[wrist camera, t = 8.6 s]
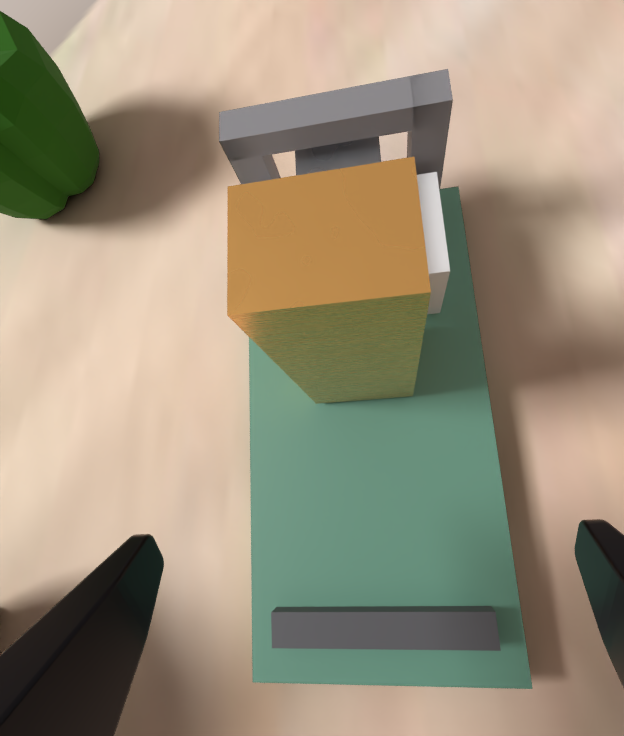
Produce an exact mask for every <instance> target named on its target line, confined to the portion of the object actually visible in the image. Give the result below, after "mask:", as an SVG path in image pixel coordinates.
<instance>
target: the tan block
mask: <svg viewBox="0 0 624 736" xmlns="http://www.w3.org/2000/svg"><path fill="white" fill-rule="evenodd" d="M295 158H296V176H291V177H284V178H278V179H272V180H266V181H259V182H253V183H247V184H241V185H235V186H228V291H227V315H228V316H229V317H230V318H231V319H232V320H233V321H234V322H235V323H236V324H237V325H238V326H239V327H240V328H241V329H242V330H243V331H244V332H245V333H246V334H247V335H248V336H249V337H250V338H251V339H252V340H253V341H254V342H255V343H256V344H257V345H258V346H259V347H260V348H261V349H262V350H263V351H264V352H265V353H266V354H267V355H268V356H269V357H270V358H271V359H272V360H273V361H274V362H275V363H276V364H277V365H278V366H279V367H280V368H281V369H282V370H283V371H284V372H285V373H286V374H287V375H288V376H289V377H290V378H291V379H292V380H293V381H294V382H295V383H296V384H297V385H298V386H299V387H300V388H301V389H302V390H303V391H304V392H305V393H306V394H307V395H308V396H309V397H310V398H311V399H312V400H313V401H314V402H315V403H316V404H319V403H332V402H345V401H358V400H370V399H383V398H396V397H409V396H413V393H414V387H415V381H416V376H417V370H418V364H419V358H420V352H421V347H422V341H423V335H424V329H425V324H426V318H427V312H428V306H429V301H430V295H431V289H430V280H429V272H428V264H427V256H426V247H425V239H424V231H423V223H422V214H421V206H420V198H419V190H418V182H417V173H416V165H415V157H409V158H402V159H396V160H390V161H384V162H381V155H380V145H379V136H377V137H371V138H366V139H360V140H354V141H348V142H342V143H336V144H330V145H324V146H319V147H313V148H307V149H301V150H295Z"/></svg>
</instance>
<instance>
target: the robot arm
mask: <svg viewBox="0 0 624 736" xmlns="http://www.w3.org/2000/svg"><path fill="white" fill-rule="evenodd" d="M575 557H576V561H577V564H578V567H579V570H580V573H581V576H582V579H583V582H584V585H585V588H586V591H587V594H588V598H589V601H590V604H591V607H592V610H593V613H594V616H595V619H596V622H597V625H598V628H599V631H600V634H601V637H602V640H603V642H604V644H605V647H606V649H607V652H608V654H609V656H610V659H611V661H612V663H613V665H614V668H615V670H616V672H617V674H618V677H619V679H620V681H621V683H622V686H623V688H624V535H623V534H622V533H621V532H619V531H618V530H617V529H616V528H614V527H613V526H612V525H611V524H609V523H608V522H606V521H604V520H600V519H597V520H582V521H581V522H580V523H579V527H578V532H577V538H576V543H575ZM163 567H164V560H163V556H162V554H161V552H160V550H159V548H158V546H157V544H156V542H155V540H154V538H153V536H151V535H150V534H139V535H133V536H131V537H130V538H129V539H128V540H127V541H126V542H124V543H123V544H122V545H121V546H120V547H119V548H118V549H117V550H116V551H115V552H113V553H112V554H111V555H110V556H109V557H108V558H107V559H106V560H105V561H104V562H102V563H101V564H100V565H99V566H98V567H97V568H96V569H95V570H94V571H92V572H91V573H90V574H89V575H88V576H87V577H86V578H85V579H84V580H83V581H81V582H80V583H79V584H78V585H77V586H76V587H75V588H74V589H73V590H72V591H70V592H69V593H68V594H67V595H66V596H65V597H64V598H63V599H62V600H61V601H59V602H58V603H57V604H56V605H55V606H54V607H53V608H52V609H51V610H49V611H48V612H47V613H46V614H45V615H44V616H43V617H42V618H41V619H40V620H38V621H37V622H36V623H35V624H34V625H33V626H32V627H31V628H30V629H29V630H27V631H26V632H25V633H24V634H23V635H22V636H21V637H20V638H19V639H18V640H16V641H15V642H14V643H13V644H12V645H11V646H10V647H9V648H8V649H6V650H5V651H4V652H3V653H2V654H1V655H0V736H114V734H115V731H116V728H117V725H118V722H119V719H120V716H121V713H122V710H123V707H124V704H125V701H126V698H127V695H128V692H129V689H130V686H131V683H132V680H133V678H134V675H135V672H136V669H137V666H138V663H139V660H140V657H141V654H142V651H143V648H144V645H145V642H146V638H147V635H148V631H149V627H150V623H151V619H152V615H153V610H154V606H155V602H156V598H157V593H158V589H159V585H160V580H161V576H162V572H163Z"/></svg>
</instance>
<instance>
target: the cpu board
mask: <svg viewBox="0 0 624 736" xmlns="http://www.w3.org/2000/svg"><path fill="white" fill-rule="evenodd" d="M452 101H453V99H452V92H451V85H450V79H449V72H448V69H445V70H440V71H435V72H429V73H424V74H419V75H413V76H408V77H403V78H398V79H392V80H387V81H382V82H376V83H371V84H366V85H360V86H355V87H350V88H345V89H339V90H334V91H329V92H323V93H318V94H313V95H308V96H302V97H297V98H292V99H286V100H281V101H276V102H271V103H265V104H260V105H255V106H249V107H244V108H239V109H234V110H228V111H223V112H219V142H220V144H221V146H222V148H223V150H224V152H225V154H226V155H227V157H228V159H229V161H230V163H231V165H232V167H233V169H234V171H235V173H236V175H237V177H238V179H239V180H240V182H241V184H247V183H253V182H259V181H266V180H272V179H278V178H280V175H279V172H278V170H277V167H276V164H275V162H274V159H273V157H272V154H277V153H283V152H289V151H295V150H301V149H307V148H313V147H319V146H324V145H330V144H336V143H342V142H348V141H354V140H360V139H366V138H371V137H377V136H383V135H389V134H395V133H401V132H407V131H408V140H407V158H409V157H415V165H416V173H417V182H418V190H419V198H420V206H421V214H422V223H423V231H424V239H425V247H426V256H427V264H428V272H429V280H430V289H431V295H430V301H429V306H428V312H427V318H426V324H425V329H424V335H423V341H422V347H421V352H420V358H419V364H418V370H417V376H416V381H415V387H414V393H413V396H409V397H396V398H383V399H370V400H358V401H345V402H332V403H319V404H316V403H315V402H314V401H313V400H312V399H311V398H310V397H309V396H308V395H307V394H306V393H305V392H304V391H303V390H302V389H301V388H300V387H299V386H298V385H297V384H296V383H295V382H294V381H293V380H292V379H291V378H290V377H289V376H288V375H287V374H286V373H285V372H284V371H283V370H282V369H281V368H280V367H279V366H278V365H277V364H276V363H275V362H274V361H273V360H272V359H271V358H270V357H269V356H268V355H267V354H266V353H265V352H264V351H263V350H262V349H261V348H260V347H259V346H258V345H257V344H256V343H255V342H254V341H253V340H252V339H251V338H250V337H249V376H250V471H251V566H252V661H253V682H260V683H303V684H345V685H388V686H431V687H474V688H517V689H532V682H531V675H530V669H529V662H528V655H527V648H526V641H525V635H524V628H523V621H522V614H521V608H520V601H519V594H518V587H517V580H516V574H515V567H514V560H513V553H512V547H511V540H510V533H509V526H508V520H507V513H506V506H505V499H504V492H503V486H502V479H501V472H500V465H499V459H498V452H497V445H496V438H495V431H494V425H493V418H492V411H491V404H490V398H489V391H488V384H487V377H486V371H485V364H484V357H483V350H482V343H481V337H480V330H479V323H478V316H477V310H476V303H475V296H474V289H473V282H472V276H471V269H470V262H469V255H468V249H467V242H466V235H465V228H464V222H463V215H462V208H461V201H460V194H459V188H458V187H451V188H445V189H440V185H441V178H442V171H443V164H444V157H445V150H446V143H447V136H448V129H449V122H450V115H451V108H452Z"/></svg>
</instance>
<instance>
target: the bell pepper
mask: <svg viewBox="0 0 624 736" xmlns="http://www.w3.org/2000/svg"><path fill="white" fill-rule="evenodd" d="M98 165H99V150H98V148H97V145H96V142H95V140H94V137H93V134H92V132H91V129H90V127H89V125H88V123H87V121H86V119H85V117H84V115H83V113H82V111H81V108H80V106H79V104H78V102H77V101H76V99H75V97H74V95H73V93H72V91H71V90H70V88H69V86H68V84H67V82H66V81H65V79H64V77H63V75H62V73H61V71H60V70H59V68H58V66H57V65H56V64H55V62H54V61H53V60H52V59H51V57H50V56H49V55H48V54H47V52H46V51H45V50H44V48H43V47H42V46H41V45H40V43H39V42H38V41H37V40H36V38H35V37H34V36H33V35H32V33H31V32H30V31H29V29H28V28H26V27H25V26H23V25H21V24H19V23H18V22H17V21H15V20H14V19H12V18H11V17H9V16H7V15H6V14H4V13H3V12H1V11H0V213H3V214H6V215H9V216H12V217H15V218H31V219H48V218H49V217H51V216H52V215H54V214H56V213H57V212H59V211H61V210H62V209H64V207H65V205H66V202H67V199H68V196H71V195H75V194H79V193H82V192H84V191H85V190H86V189H87V188H88V187H89V186H91V185H92V184H93V182H94V179H95V175H96V172H97V168H98Z"/></svg>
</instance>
